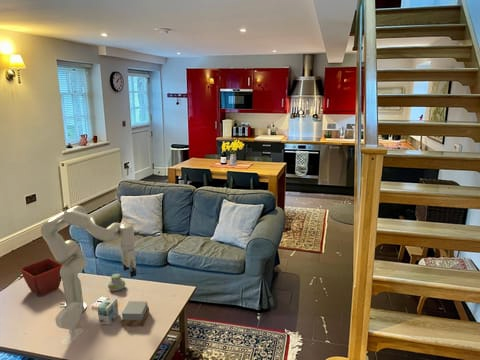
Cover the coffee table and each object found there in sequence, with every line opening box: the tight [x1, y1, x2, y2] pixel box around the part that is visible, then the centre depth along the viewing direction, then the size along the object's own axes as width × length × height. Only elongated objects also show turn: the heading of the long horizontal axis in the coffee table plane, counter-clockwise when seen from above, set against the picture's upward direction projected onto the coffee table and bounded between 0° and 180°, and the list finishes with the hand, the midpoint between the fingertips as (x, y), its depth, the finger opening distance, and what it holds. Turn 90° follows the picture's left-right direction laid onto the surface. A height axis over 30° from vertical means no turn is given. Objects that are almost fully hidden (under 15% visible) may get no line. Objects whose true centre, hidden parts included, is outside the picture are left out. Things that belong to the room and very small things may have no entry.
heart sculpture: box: [55, 302, 84, 346], centre depth 194 cm, size 16×5×18 cm, turn 163°
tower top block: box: [121, 300, 149, 320], centre depth 209 cm, size 11×12×4 cm
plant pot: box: [20, 257, 64, 297], centre depth 239 cm, size 19×19×17 cm
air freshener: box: [107, 273, 126, 292], centre depth 241 cm, size 11×8×10 cm
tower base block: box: [121, 306, 150, 328], centre depth 210 cm, size 12×13×4 cm
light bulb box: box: [97, 297, 119, 326], centre depth 209 cm, size 11×7×11 cm, turn 168°
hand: (129, 273), depth 209 cm, fingers open, 9 cm apart
